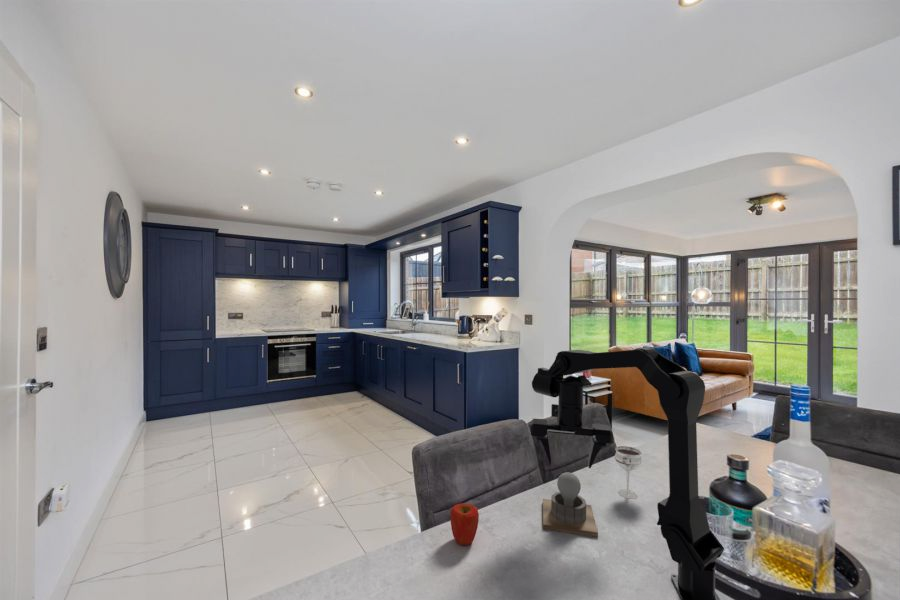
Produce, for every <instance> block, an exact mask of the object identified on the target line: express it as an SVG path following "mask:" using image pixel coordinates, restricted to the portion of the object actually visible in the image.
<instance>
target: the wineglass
mask: <svg viewBox="0 0 900 600" xmlns="http://www.w3.org/2000/svg"><path fill="white" fill-rule="evenodd" d="M614 449H615V451H616V452H615V454H614V459H615V462H616V464H618V466H619V467H620V468H621V469H624V471H626V472H625V473H626V489H619V490H618V491H617V493H619V494H620V495H619V494H618V495H619V496H621V497H623V498H626V499H637V498H638V497H639V496H638V494H637V493H636V492H635V491H632V490H629V487H630V484H629V483H630V472H632V471H635V470H637V469H638V468H640V467H641V466H642V460H643V459H642V456H641V455H642V451H641V450H640V449H638V448H636V447H632V446H626V445H621V446H616V447H615V448H614Z"/></svg>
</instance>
